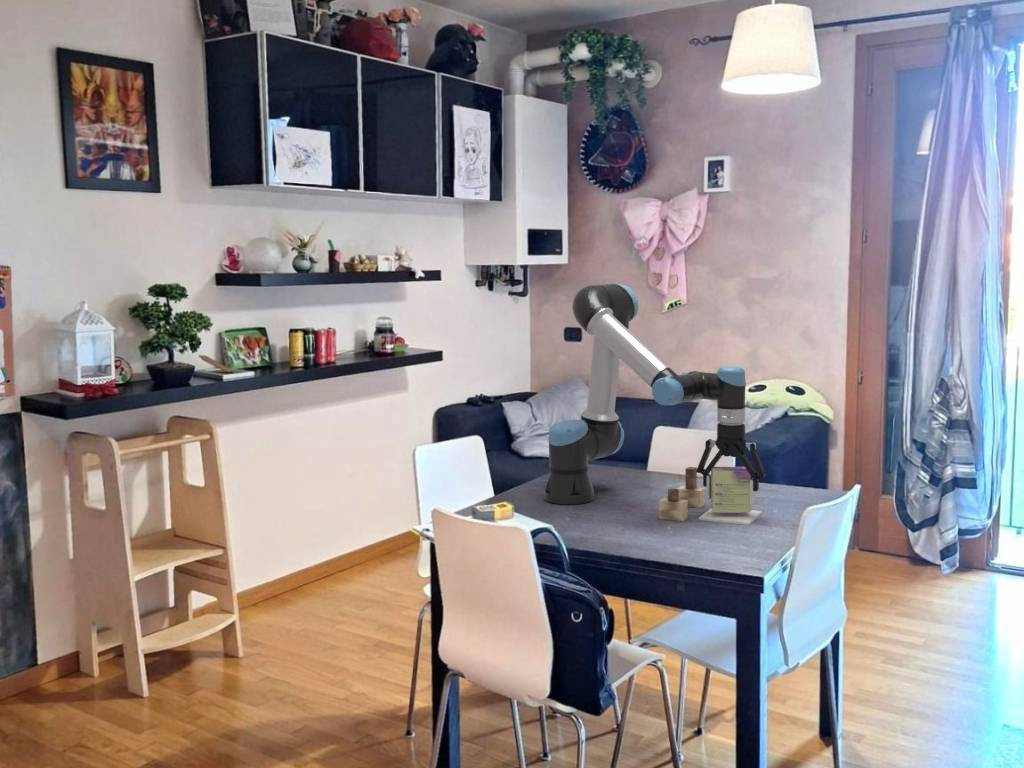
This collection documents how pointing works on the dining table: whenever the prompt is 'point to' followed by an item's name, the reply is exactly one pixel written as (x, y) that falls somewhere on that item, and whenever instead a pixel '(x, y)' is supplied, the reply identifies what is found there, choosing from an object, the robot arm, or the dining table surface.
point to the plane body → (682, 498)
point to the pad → (731, 517)
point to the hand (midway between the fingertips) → (730, 500)
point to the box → (730, 489)
